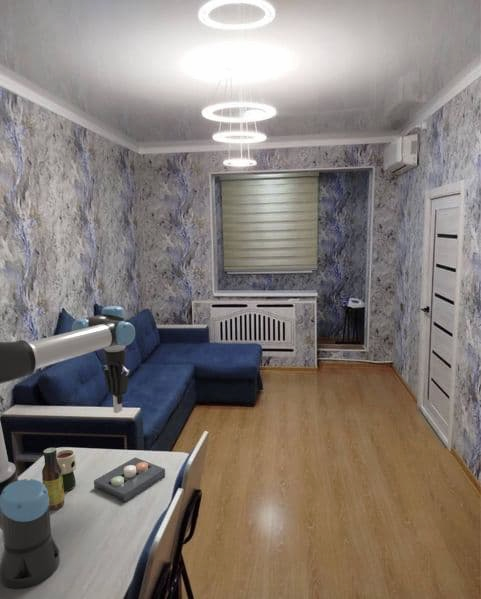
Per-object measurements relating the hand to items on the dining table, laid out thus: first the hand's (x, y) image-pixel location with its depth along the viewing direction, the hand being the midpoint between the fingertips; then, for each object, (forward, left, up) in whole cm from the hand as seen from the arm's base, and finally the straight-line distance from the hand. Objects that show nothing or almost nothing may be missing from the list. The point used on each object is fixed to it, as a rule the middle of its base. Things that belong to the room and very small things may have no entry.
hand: (118, 411), depth 164 cm
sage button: (-6, -5, -26) cm, 27 cm away
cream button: (0, -5, -24) cm, 25 cm away
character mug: (-15, +12, -27) cm, 33 cm away
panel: (0, -5, -26) cm, 27 cm away
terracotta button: (+6, -5, -26) cm, 27 cm away
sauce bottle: (-24, +6, -27) cm, 36 cm away
